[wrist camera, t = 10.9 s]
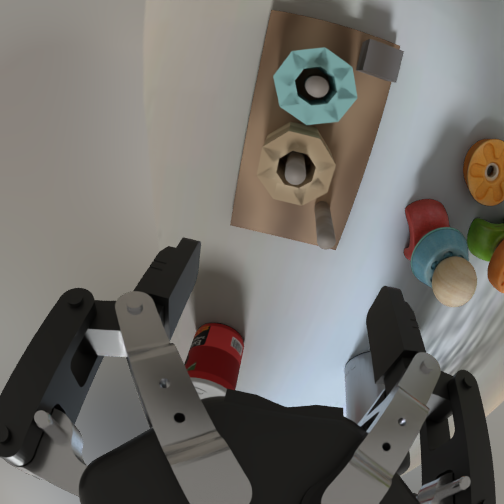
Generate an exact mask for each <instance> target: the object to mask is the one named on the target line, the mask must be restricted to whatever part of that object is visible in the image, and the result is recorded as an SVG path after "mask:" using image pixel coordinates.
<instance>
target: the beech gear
mask: <svg viewBox="0 0 504 504" xmlns="http://www.w3.org/2000/svg"><path fill="white" fill-rule="evenodd" d="M291 151H296V152H300V153H304V154H308V155H309V157H310V159H311V162H310V164H308V165H306V166H305V169H306V178H305V180H304V181H303V182H302V183H301V184H298V185H293V184H290V183H289V182H288V181H287V180H286V178H285V169H286V165H285V163H284V162H283V160H282V159H281V157H282V156H284V155H286V154H288V153H289V152H291ZM335 166H336V164H335V162H334V159H333V157H332V154H331V151H330V149H329V148H328V146H327V144H326V143H325V141H324V139H323V138H322V136H321V134H320V133H319V131H318V130H317V128H315V127H311V126H307V125H303V124H299V123H295V122H291V121H290V122H289V123H287V124H285V125H283V126H282V127H280V128H278V129H277V130H275V131H273V132H272V133H270V134H268V136H267V138H266V140H265V142H264V145H263V147H262V151H261V156H260V161H259V166H258V171H257V177H258V178H259V179H260V181H261V182H262V184H263V185H264V186H265V188H266V189H267V191H268V192H269V194H270V195H271V196H272V198H273V199H276V200H280V201H284V202H288V203H293V204H297V205H301V206H302V205H304V204H306V203H308V202H310V201H312V200H314V199H316V198H318V197H320V196H322V195H323V194H325V193H327V192H328V189H329V186H330V183H331V179H332V176H333V173H334V169H335Z"/></svg>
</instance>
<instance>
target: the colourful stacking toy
mask: <svg viewBox="0 0 504 504" xmlns="http://www.w3.org/2000/svg"><path fill="white" fill-rule="evenodd" d="M489 166H493V168H492V172H491V174H490V175H487V169H488V167H489ZM463 173H464V179H465V182H466V184H467V186H468V188H469V190H470V193H471V195H472V196H473V198H474V199H475V200H476V201H477V202H478V203H480V204H482V205H485V206H494V205H497V204H499V203H501V202H502V201H504V141H502V140H499V139H483V140H480V141H478V142H476V143H475V144H474V145H473V146H472V147H471V148H470V149H469V151H468V153H467V155H466V157H465V160H464V167H463ZM405 214H406V218H407V221H408V225H409V231H410V245H409V248H405V249H404V255H405V257H406V258H407V259H408V260H410V261H411V269H412V272H413V274H414V275H415V277H416V278H417V279H418V280H420V281H421V282H423V283H424V284H426V285H428V286H429V287H431V288H432V289H433V292H434V294H435V296H436V298H437V299H438V300H439V301H440V302H441V303H442V304H444V305H446V306H449V307H459V306H462V305H464V304H465V303H467V302H468V301H469V300H470V299H471V298H472V296H473V294H474V292H475V290H476V286H477V276H476V272H475V270H474V268H473V266H472V265H471V263H470V262H469V258H468V248H469V250H470V252H471V253H472V254H473V255H475V256H476V257H478V258H480V259H482V260H485V261H490V262H489V265H488V279H489V281H490V283H491V284H492V285H493V286H494V287H495V288H496V289H497V290H498V291H500V292H502V293H504V223H502V224H493V223H489V222H487V221H485V220H483V219H480V218H476V219H474V220H473V222H472V224H471V226H470V228H469V231H468V236H467V241H466V239H465V237H464V236H463V234H462V233H461V232H460V231H458V230H457V229H454V228H451V227H450V225H449V219H448V215H447V212H446V210H445V208H444V206H443V205H442V204H441V203H440V202H438V201H436V200H433V199H422V200H418V201H415V202H413V203H411V204H409V205H408V206H407V207H406V208H405ZM467 244H468V247H467Z"/></svg>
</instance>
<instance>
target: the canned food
mask: <svg viewBox="0 0 504 504" xmlns="http://www.w3.org/2000/svg"><path fill="white" fill-rule="evenodd" d="M243 349H244V343H243V339H242V337H241V335H240V334H239V333H238V332H237V331H236V330H234V329H233V328H231V327H229V326H226V325H223V324H219V323H208V324H205V325H203V326H201V327H200V328H199V329H198V330H197V332H196V334H195V336H194V339H193V342H192V345H191V347H190V350H189V353H188V356H187V358H186V361H185V364H184V365H185V368H186V370H187V372H188V374H189V376H190V378H191V381H192V383H193V385H194V387H195V389H196V391H197V393H198V395H199V397H200V399H203V398H208V397H214V396H225V394H226V391H227V389H232V390H235V388H236V383H237V379H238V374H239V369H240V364H241V359H242V354H243Z"/></svg>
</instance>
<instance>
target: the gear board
mask: <svg viewBox="0 0 504 504" xmlns="http://www.w3.org/2000/svg"><path fill="white" fill-rule="evenodd" d="M324 47H325V48H327V49H328V50H330V51H331V52H332V53H334V54H335V55H337V56H338V57H339V58H341V59H342V60H343V61H345V62H346V63H348V64H349V65H350V66H351V67H352V68H353V73H354V79H355V85H356V92H357V99H356V101H355V102H354V103H353V104H352V106H351V107H350V108H349V109H348V110H347V112H346V113H345V114H344V115H343V117H342V118H341V119H340V120H339V122H331V123H321V124H313V125H307V126H311V127H315V128H317V130H318V131H319V133H320V134H321V136H322V138H323V139H324V141H325V143H326V144H327V146H328V148H329V149H330V151H331V154H332V157H333V159H334V162H335V164H336V166H335V169H334V173H333V176H332V179H331V183H330V186H329V189H328V192H327V193H325V194H323V195H322V196H320V197H318V198H316V199H314V200H312V201H310V202H308V203H306V204H304V205H302V206H301V205H297V204H293V203H288V202H284V201H280V200H276V199H273V198H272V196H271V195H270V194H269V192H268V191H267V189H266V188H265V186H264V185H263V184H262V182H261V181H260V179H259V178H258V177H257V171H258V166H259V161H260V156H261V151H262V147H263V145H264V142H265V140H266V138H267V136H268V134H270V133H272V132H273V131H275V130H277V129H278V128H280V127H282V126H283V125H285V124H287V123H289V122H290V121H291V122H295V123H299V124H303V125H306V124H304V123H303V122H301V121H300V120H298V119H297V118H296V117H294V116H293V115H291V114H290V113H288V112H287V111H285V110H284V109H282V108H281V107H280V106H279V101H278V96H277V92H276V87H275V82H274V78H273V76H274V74H275V73H276V72H277V70H278V69H279V68H280V66H281V65H282V64H283V62H284V61H285V60H286V58H287V57H288V56H289V54H290V53H291V52H292V51H297V50H305V49H314V48H324ZM399 49H400V46H399V45H396V44H394V43H391V42H389V41H386V40H383V39H381V38H378V37H375V36H373V35H370V34H367V33H364V32H361V31H358V30H355V29H352V28H348V27H345V26H342V25H338V24H334V23H331V22H327V21H323V20H319V19H315V18H311V17H306V16H302V15H297V14H292V13H287V12H281V11H275V10H271V14H270V19H269V23H268V28H267V33H266V37H265V42H264V47H263V52H262V57H261V61H260V66H259V71H258V76H257V81H256V86H255V91H254V96H253V101H252V107H251V112H250V117H249V122H248V128H247V133H246V138H245V144H244V149H243V155H242V160H241V166H240V171H239V177H238V183H237V189H236V194H235V200H234V206H233V212H232V218H231V224H230V225H232V226H236V227H240V228H245V229H249V230H253V231H258V232H262V233H266V234H271V235H275V236H279V237H283V238H288V239H292V240H296V241H300V242H304V243H308V244H313V245H317V246H319V247H320V248H322V249H333V250H336V248H337V245H338V243H339V240H340V238H341V235H342V233H343V230H344V227H345V225H346V222H347V219H348V217H349V214H350V211H351V209H352V206H353V203H354V200H355V198H356V195H357V192H358V189H359V186H360V183H361V180H362V178H363V175H364V172H365V169H366V166H367V163H368V160H369V156H370V153H371V150H372V147H373V144H374V141H375V138H376V134H377V131H378V128H379V124H380V121H381V118H382V114H383V111H384V107H385V104H386V100H387V96H388V93H389V89H390V85H391V82H396V81H397V77H398V73H399V69H400V65H401V61H402V56H403V52H404V51H401V50H399ZM295 82H296V87H297V92H298V93H299V94H300V95H302V96H303V97H305V98H306V99H308V100H316V99H323V97H324V96H325V95H326V94H327V92H328V91H329V90H330V85H329V80H328V76H327V75H326V74H324V73H323V72H321V71H320V70H319V69H317V68H313V69H304V70H303V71H302V72H301V73H300V74H299V76H298V77H297V78H296V80H295ZM281 159H282V160H283V162H284V163H285V165H286V169H285V178H286V180H287V181H288V182H289V183H290V184H293V185H298V184H301V183H302V182H303V181H304V180H305V178H306V169H305V166H306V165H308V164H310V162H311V159H310V157H309V155H308V154H304V153H300V152H296V151H291V152H289V153H288V154H286V155H284V156H282V157H281Z"/></svg>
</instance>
